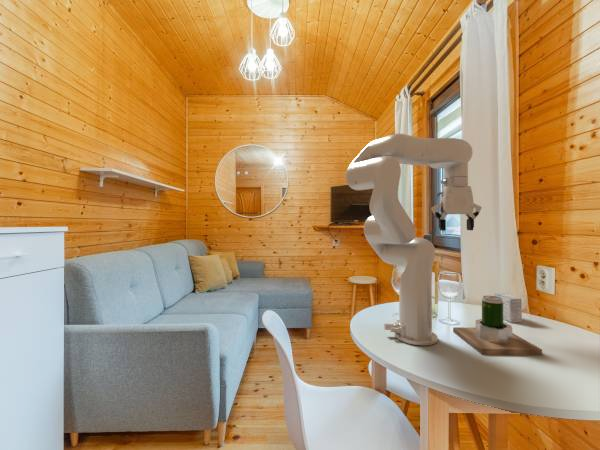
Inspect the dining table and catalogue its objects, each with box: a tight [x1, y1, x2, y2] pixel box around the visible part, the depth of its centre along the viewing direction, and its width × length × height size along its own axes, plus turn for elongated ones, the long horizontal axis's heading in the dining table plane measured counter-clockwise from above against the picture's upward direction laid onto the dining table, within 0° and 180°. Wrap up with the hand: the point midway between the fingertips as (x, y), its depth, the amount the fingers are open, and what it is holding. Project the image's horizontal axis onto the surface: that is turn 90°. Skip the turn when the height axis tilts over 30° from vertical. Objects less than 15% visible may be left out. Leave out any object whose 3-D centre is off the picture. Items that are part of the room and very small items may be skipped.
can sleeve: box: [475, 318, 513, 344], centre depth 86 cm, size 9×9×4 cm
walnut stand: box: [452, 326, 543, 356], centre depth 86 cm, size 16×16×2 cm
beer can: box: [481, 295, 504, 328], centre depth 86 cm, size 5×5×12 cm
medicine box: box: [494, 293, 523, 324], centre depth 106 cm, size 8×4×9 cm, turn 3°
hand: (456, 230), depth 104 cm, fingers open, 9 cm apart
